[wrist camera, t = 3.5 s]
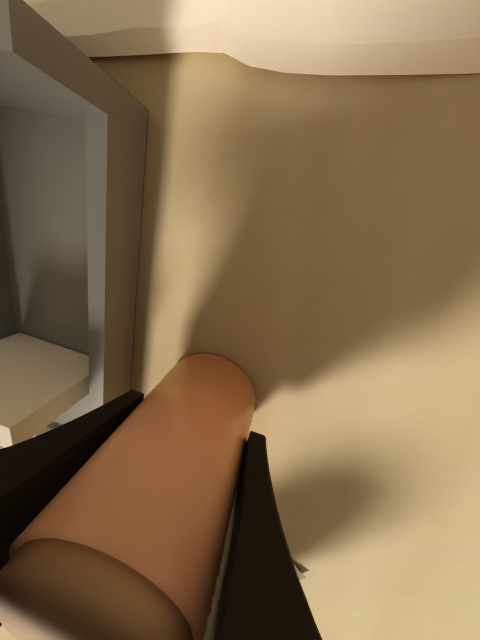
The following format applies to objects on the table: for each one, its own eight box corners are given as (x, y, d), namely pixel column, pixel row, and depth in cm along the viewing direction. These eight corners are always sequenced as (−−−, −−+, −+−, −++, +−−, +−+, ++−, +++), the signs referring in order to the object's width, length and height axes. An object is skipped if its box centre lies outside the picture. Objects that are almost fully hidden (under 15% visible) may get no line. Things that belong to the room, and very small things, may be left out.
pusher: (107, 379, 14) (-18, 475, 8) (22, 349, 14) (-147, 420, 9) (107, 362, 13) (-25, 451, 8) (19, 332, 14) (-159, 395, 8)
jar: (243, 443, 14) (174, 734, 6) (163, 415, 14) (-4, 643, 6) (266, 371, 12) (211, 650, 4) (172, 341, 12) (-44, 532, 4)
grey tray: (125, 453, 16) (60, 538, 12) (25, 415, 17) (-72, 480, 13) (148, 110, 9) (6, -15, 5) (-23, 76, 10) (-281, -55, 6)
